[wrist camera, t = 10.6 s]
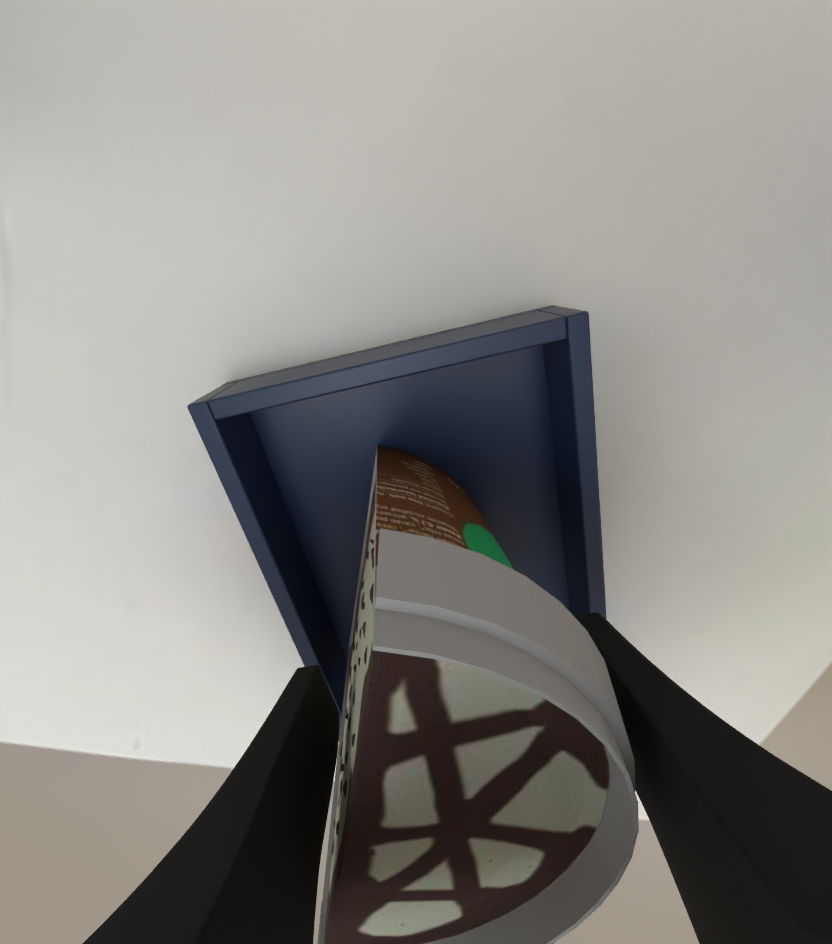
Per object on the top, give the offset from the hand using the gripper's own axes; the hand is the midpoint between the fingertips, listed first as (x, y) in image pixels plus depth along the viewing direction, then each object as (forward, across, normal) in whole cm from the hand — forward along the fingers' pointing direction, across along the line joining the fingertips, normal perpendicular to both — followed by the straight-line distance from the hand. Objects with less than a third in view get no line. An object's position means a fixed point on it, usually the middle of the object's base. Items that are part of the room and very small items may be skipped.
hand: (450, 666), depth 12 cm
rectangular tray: (+6, 0, 0) cm, 6 cm away
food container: (+6, 0, +1) cm, 6 cm away
